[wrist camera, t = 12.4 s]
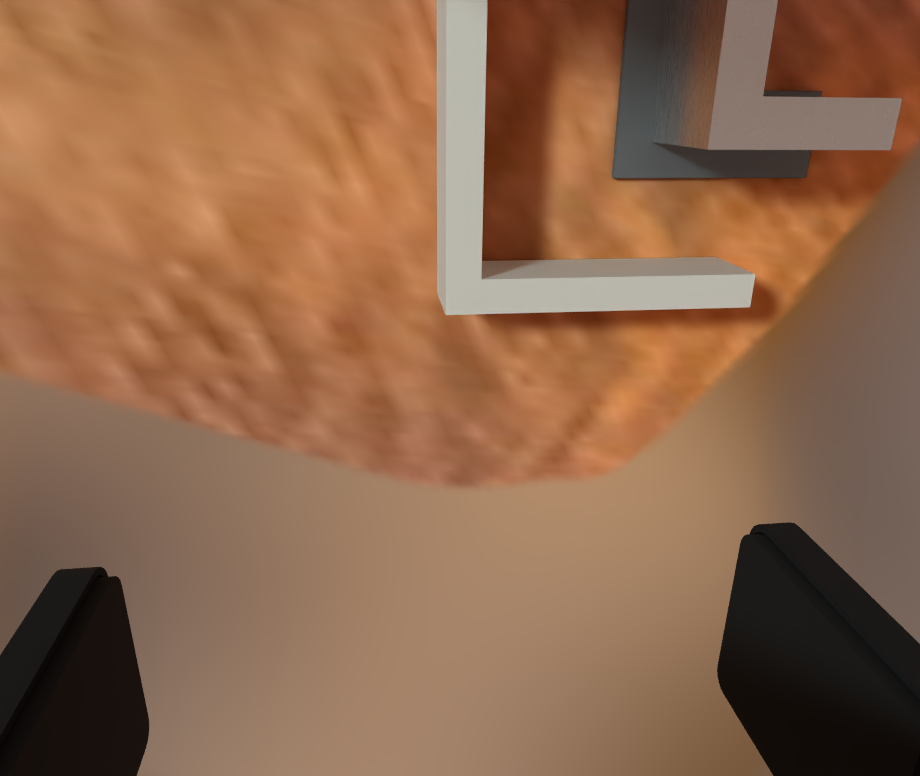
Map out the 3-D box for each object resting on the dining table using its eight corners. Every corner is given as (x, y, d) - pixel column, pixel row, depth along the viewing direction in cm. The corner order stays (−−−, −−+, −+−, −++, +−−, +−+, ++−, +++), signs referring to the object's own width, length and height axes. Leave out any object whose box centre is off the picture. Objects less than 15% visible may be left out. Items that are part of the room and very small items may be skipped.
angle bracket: (677, -106, 30) (747, -152, 25) (851, -97, 31) (955, -140, 26) (651, 142, 34) (707, 149, 29) (807, 142, 35) (890, 150, 30)
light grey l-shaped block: (436, -185, 29) (447, -227, 25) (777, -164, 30) (834, -201, 27) (437, 292, 36) (445, 315, 32) (711, 287, 38) (750, 307, 34)
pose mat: (637, -115, 30) (639, -117, 30) (854, -104, 32) (858, -106, 31) (612, 177, 35) (614, 178, 34) (802, 177, 36) (806, 177, 36)
